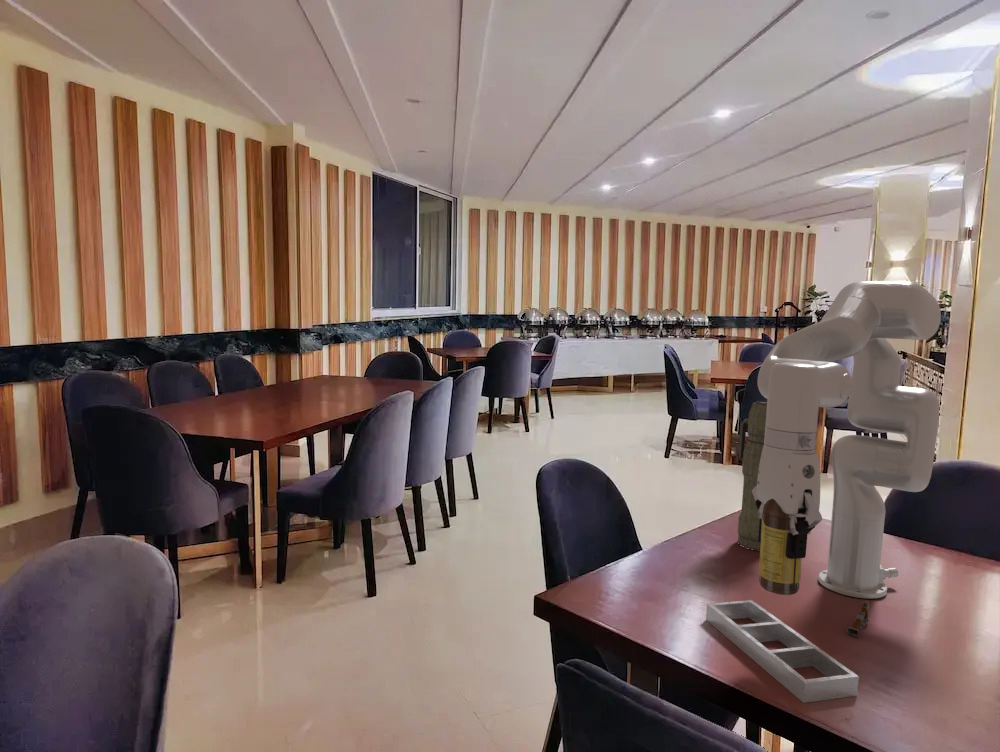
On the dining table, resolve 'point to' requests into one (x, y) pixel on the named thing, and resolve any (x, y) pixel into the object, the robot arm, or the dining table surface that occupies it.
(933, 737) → the dining table surface
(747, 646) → the rack with square compartments
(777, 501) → the robot arm
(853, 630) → the wooden post with brackets
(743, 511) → the thermos
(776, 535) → the sauce bottle
